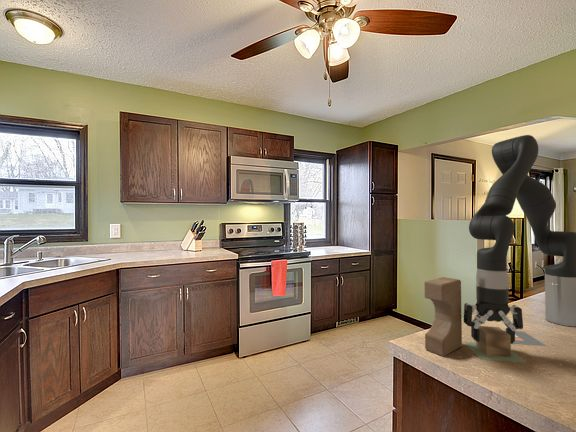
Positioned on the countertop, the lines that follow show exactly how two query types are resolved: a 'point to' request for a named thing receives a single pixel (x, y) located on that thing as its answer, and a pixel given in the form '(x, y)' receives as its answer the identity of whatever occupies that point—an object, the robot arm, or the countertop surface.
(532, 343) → the tile
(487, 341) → the walnut block
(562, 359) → the countertop surface
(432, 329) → the decorative block
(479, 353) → the mat
